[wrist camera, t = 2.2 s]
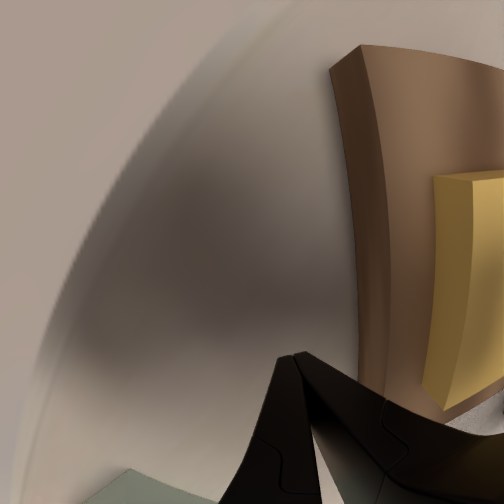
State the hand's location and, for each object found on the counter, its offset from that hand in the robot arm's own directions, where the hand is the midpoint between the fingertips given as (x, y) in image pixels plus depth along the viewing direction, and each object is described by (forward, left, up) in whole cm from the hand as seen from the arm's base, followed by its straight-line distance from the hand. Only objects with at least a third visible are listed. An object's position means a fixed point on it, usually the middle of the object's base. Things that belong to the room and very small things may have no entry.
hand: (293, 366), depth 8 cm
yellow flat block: (-9, 0, -2) cm, 9 cm away
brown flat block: (-9, 0, -4) cm, 10 cm away
